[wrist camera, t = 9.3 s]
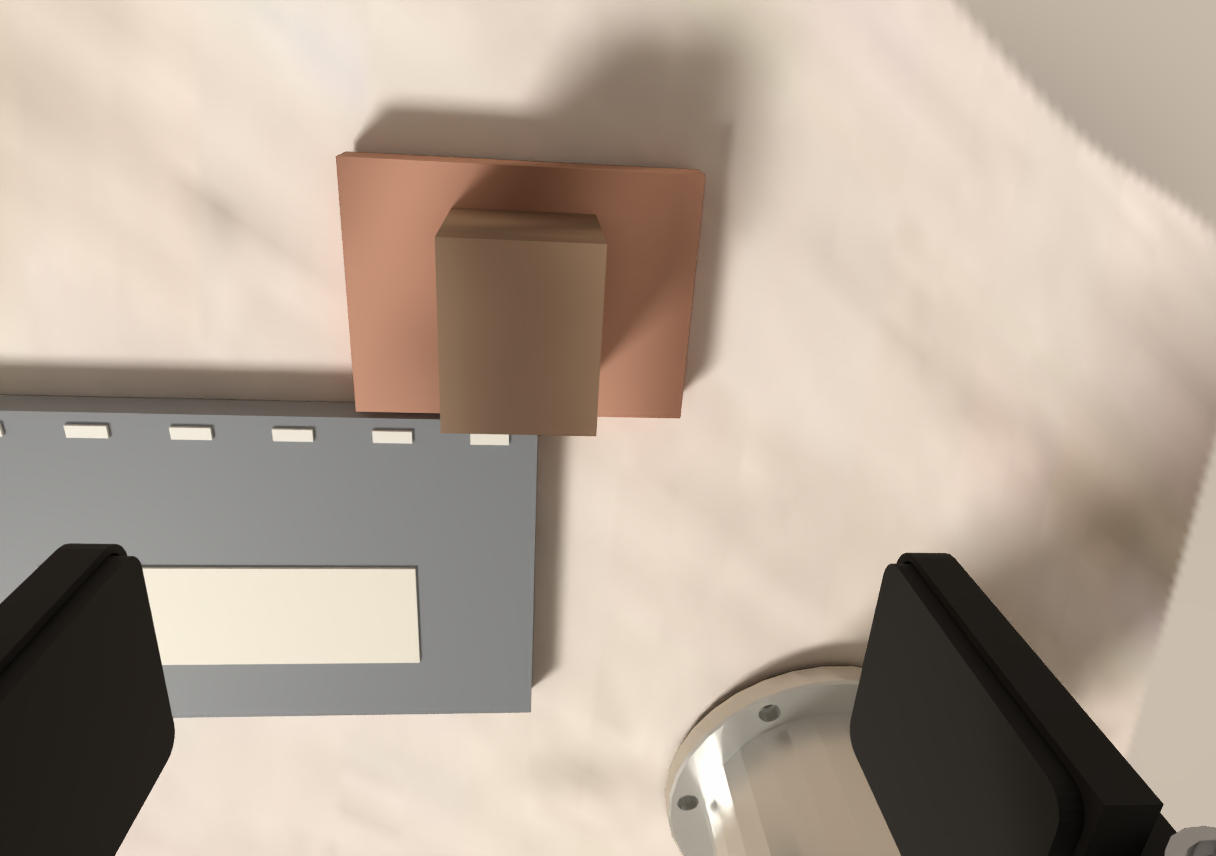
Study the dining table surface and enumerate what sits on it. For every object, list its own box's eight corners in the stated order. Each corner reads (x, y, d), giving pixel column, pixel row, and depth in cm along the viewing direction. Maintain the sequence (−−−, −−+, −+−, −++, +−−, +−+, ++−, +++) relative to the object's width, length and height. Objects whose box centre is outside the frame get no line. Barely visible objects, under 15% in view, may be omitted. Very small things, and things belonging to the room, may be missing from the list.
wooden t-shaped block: (697, 169, 23) (738, 197, 19) (674, 403, 26) (704, 478, 22) (345, 151, 22) (295, 176, 18) (363, 396, 26) (324, 473, 21)
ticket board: (537, 406, 26) (538, 422, 25) (531, 689, 31) (530, 714, 30) (-53, 393, 25) (-82, 410, 23) (39, 695, 30) (19, 721, 28)
